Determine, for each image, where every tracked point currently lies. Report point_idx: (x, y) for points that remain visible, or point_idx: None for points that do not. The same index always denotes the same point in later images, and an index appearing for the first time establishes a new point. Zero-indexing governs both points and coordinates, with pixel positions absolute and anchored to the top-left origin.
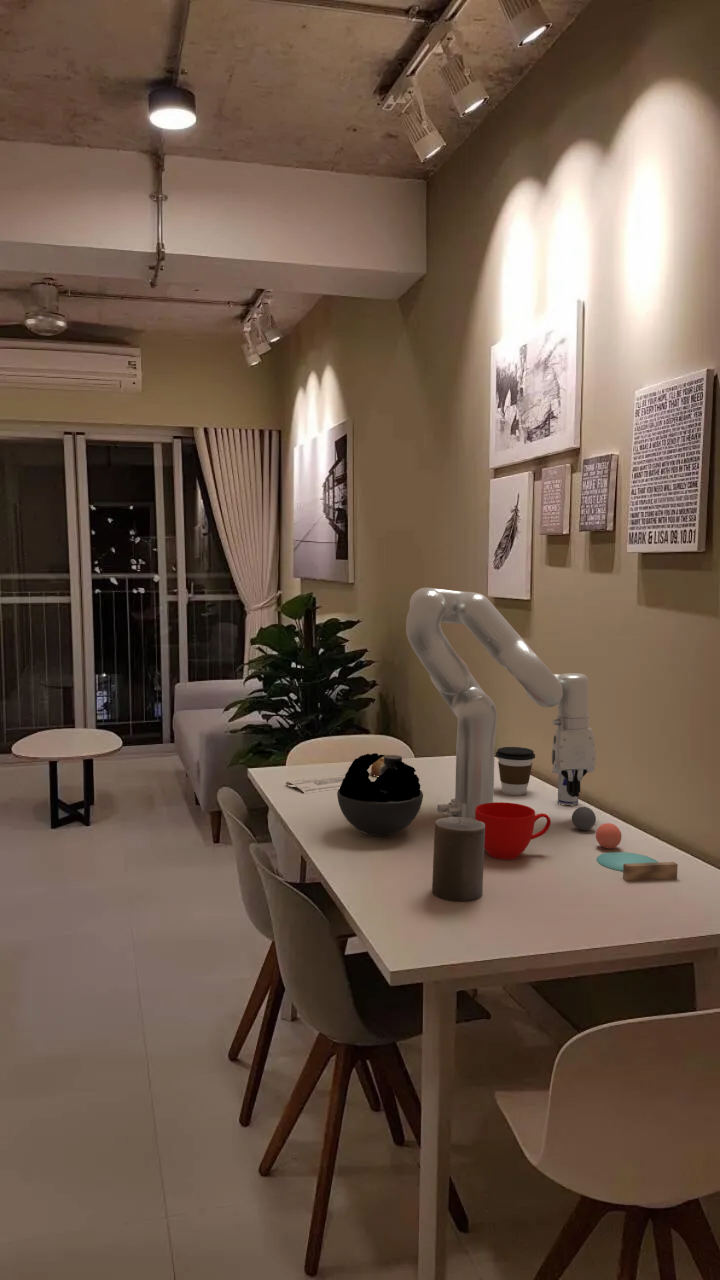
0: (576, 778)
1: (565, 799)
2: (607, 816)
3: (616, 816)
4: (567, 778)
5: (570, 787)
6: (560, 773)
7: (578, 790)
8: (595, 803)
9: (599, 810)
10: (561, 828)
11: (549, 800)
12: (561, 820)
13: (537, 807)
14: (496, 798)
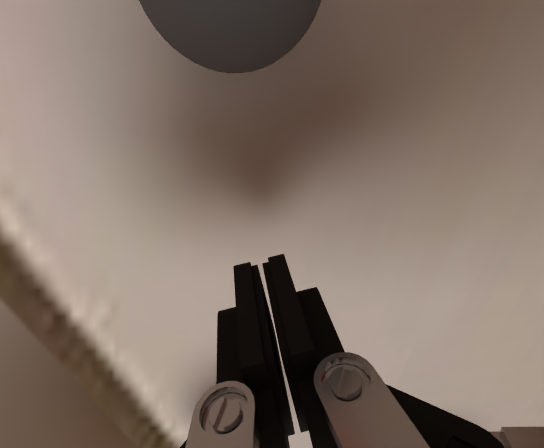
0: (264, 413)
1: None
2: (76, 283)
3: (30, 289)
4: (382, 389)
5: (313, 318)
6: (515, 443)
7: (238, 294)
8: (129, 430)
9: (115, 358)
10: (362, 17)
11: (298, 430)
12: (318, 187)
13: (368, 353)
14: (472, 417)
